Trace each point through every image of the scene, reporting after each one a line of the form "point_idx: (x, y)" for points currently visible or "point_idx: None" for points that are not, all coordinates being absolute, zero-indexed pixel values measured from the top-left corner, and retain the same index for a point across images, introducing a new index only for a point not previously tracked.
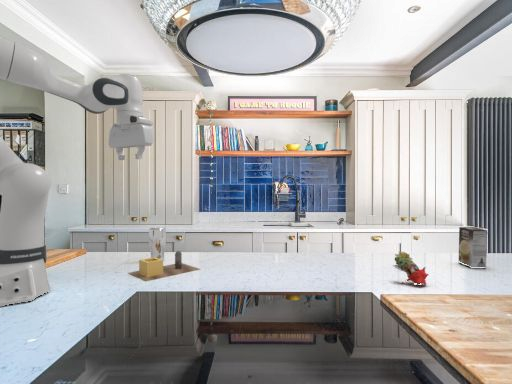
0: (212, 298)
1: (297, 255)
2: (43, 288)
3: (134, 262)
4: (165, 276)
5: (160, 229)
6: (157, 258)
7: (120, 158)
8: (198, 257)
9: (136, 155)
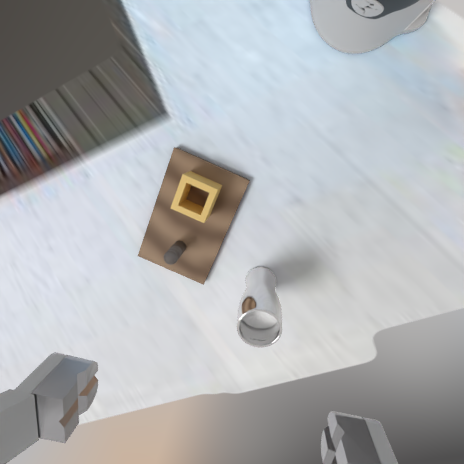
0: (39, 138)
1: None
2: (316, 8)
3: (318, 277)
4: (163, 189)
5: (240, 317)
6: (190, 215)
7: (341, 420)
8: (216, 350)
9: (57, 379)
